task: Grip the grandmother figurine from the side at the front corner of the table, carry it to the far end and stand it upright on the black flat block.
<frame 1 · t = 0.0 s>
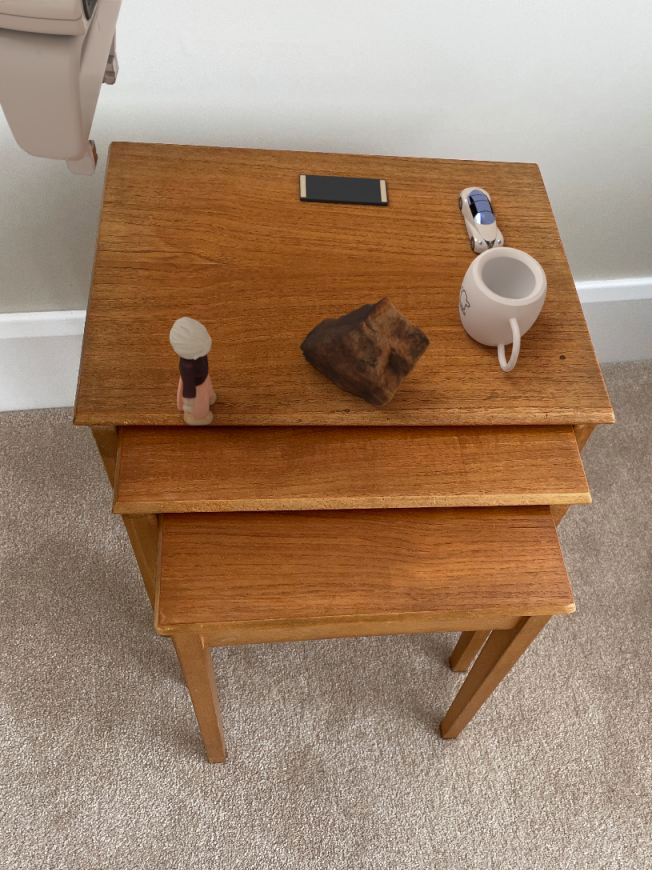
hand: (95, 121, 57), 24 cm above the table, tool pointing down, fingers open, 8 cm apart
grandmother figurine: (199, 412, 75), on the table
toy car: (481, 237, 89), on the table
decorative rock: (357, 377, 79), on the table
black flat block: (343, 191, 89), on the table
mug: (492, 339, 83), on the table
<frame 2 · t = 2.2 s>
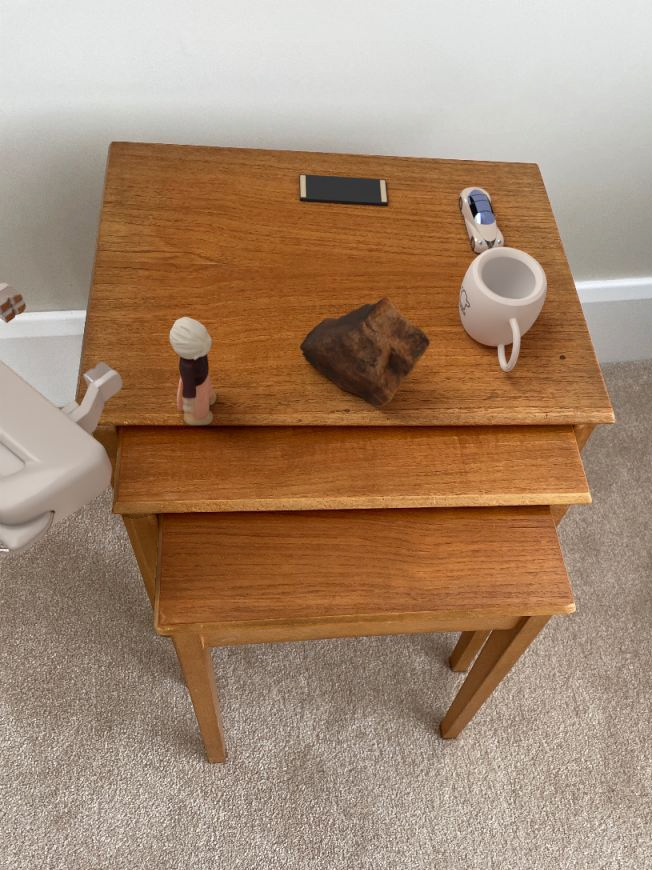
hand: (64, 333, 53), 20 cm above the table, tool horizontal, fingers open, 8 cm apart
nothing on the table moved.
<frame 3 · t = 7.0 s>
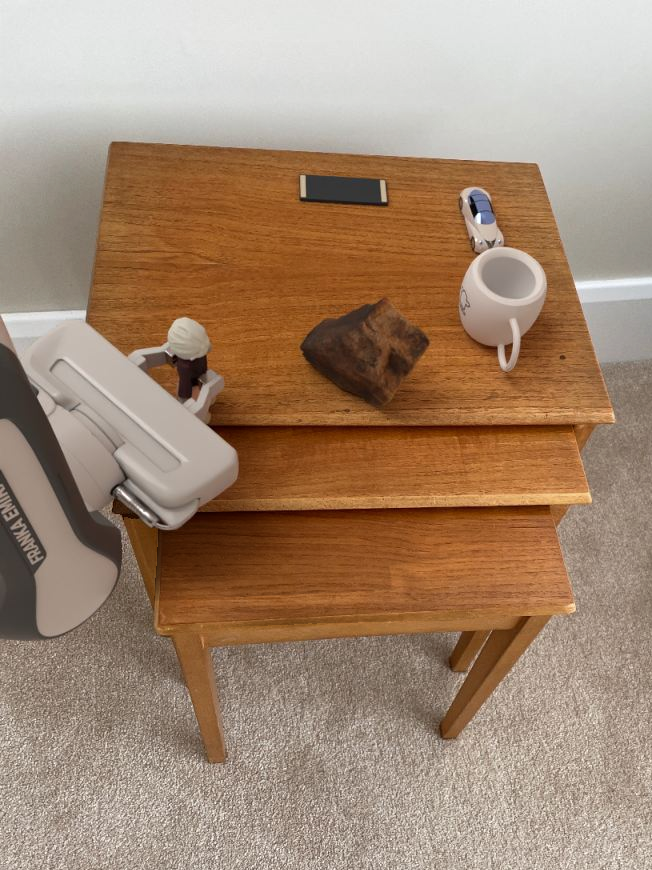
hand: (200, 361, 69), 7 cm above the table, tool horizontal, fingers closed on grandmother figurine, 3 cm apart
grandmother figurine: (197, 412, 75), on the table, touching gripper
everything else where it was.
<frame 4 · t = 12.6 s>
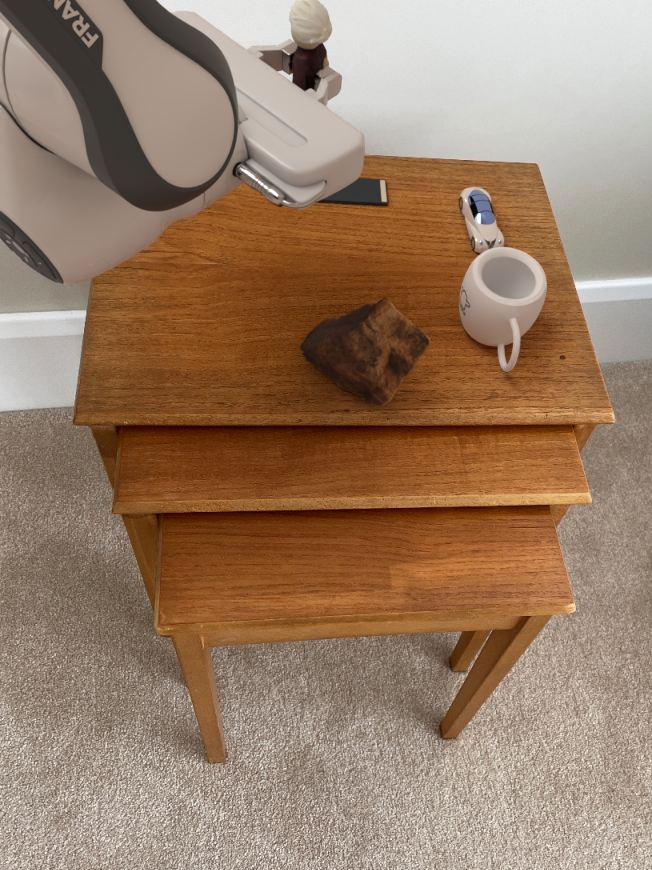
hand: (316, 64, 65), 22 cm above the table, tool horizontal, fingers closed on grandmother figurine, 3 cm apart
grandmother figurine: (302, 144, 71), point 15 cm above the table, touching gripper
everything else where it was.
when the fingers open (7 cm above the table, at t = 18.3 s): grandmother figurine stays where it is, resting on black flat block.
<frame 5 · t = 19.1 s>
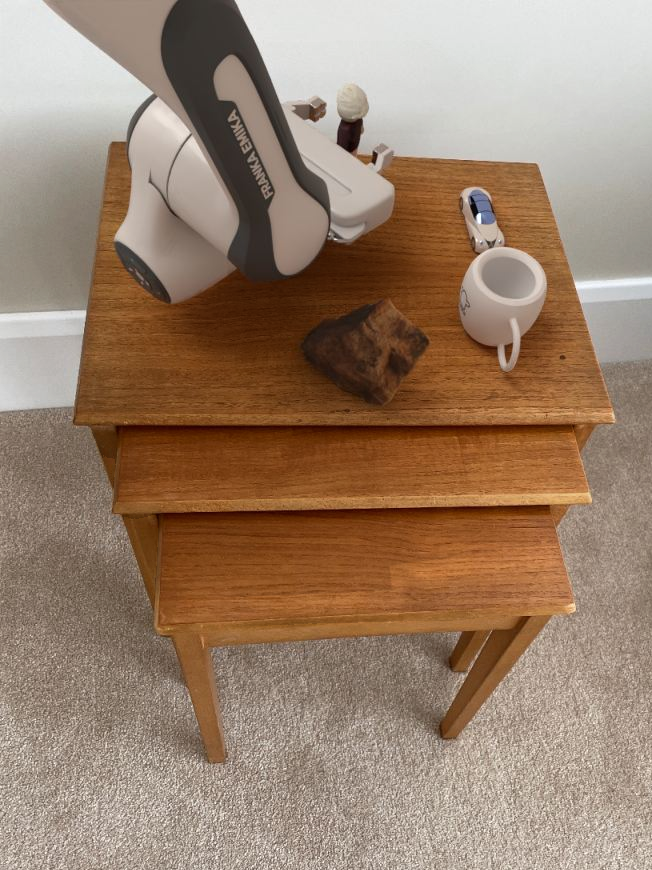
hand: (354, 128, 83), 8 cm above the table, tool horizontal, fingers open, 8 cm apart
grandmother figurine: (341, 191, 89), resting on black flat block
everything else where it was.
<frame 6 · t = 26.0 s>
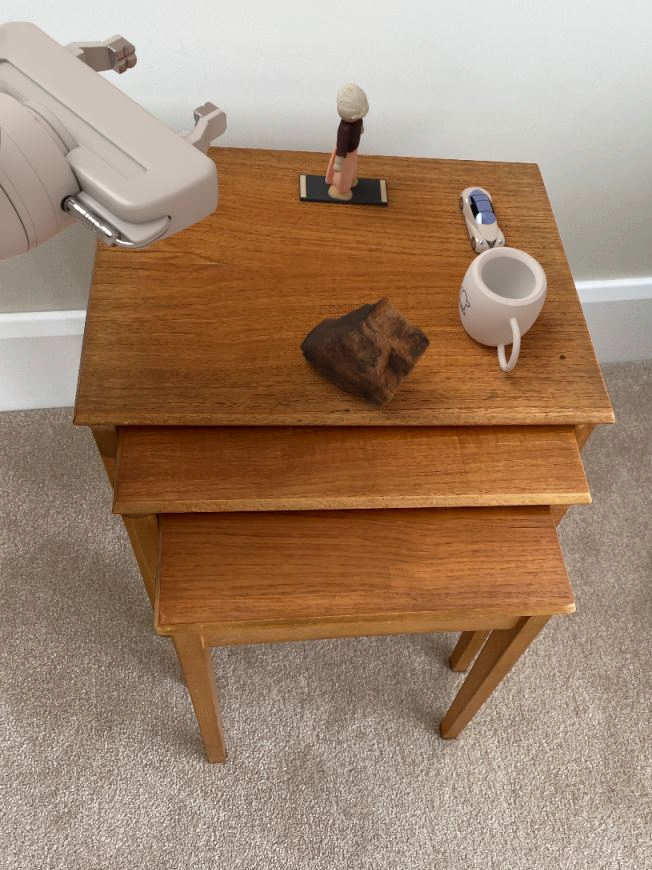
hand: (173, 81, 58), 25 cm above the table, tool horizontal, fingers open, 8 cm apart
nothing on the table moved.
at the end: grandmother figurine 0.3 cm off-centre on the black flat block, point 0.2 cm above the black flat block's base; grandmother figurine tilted 0°; the gripper is holding nothing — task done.
